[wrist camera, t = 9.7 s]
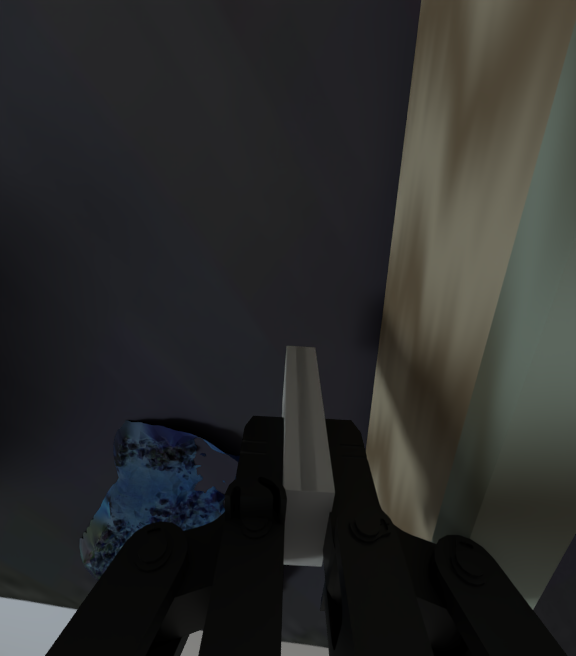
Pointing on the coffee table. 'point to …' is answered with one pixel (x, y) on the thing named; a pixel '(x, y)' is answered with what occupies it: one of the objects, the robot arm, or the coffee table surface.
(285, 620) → the coffee table surface
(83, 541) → the rock
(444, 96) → the gate
